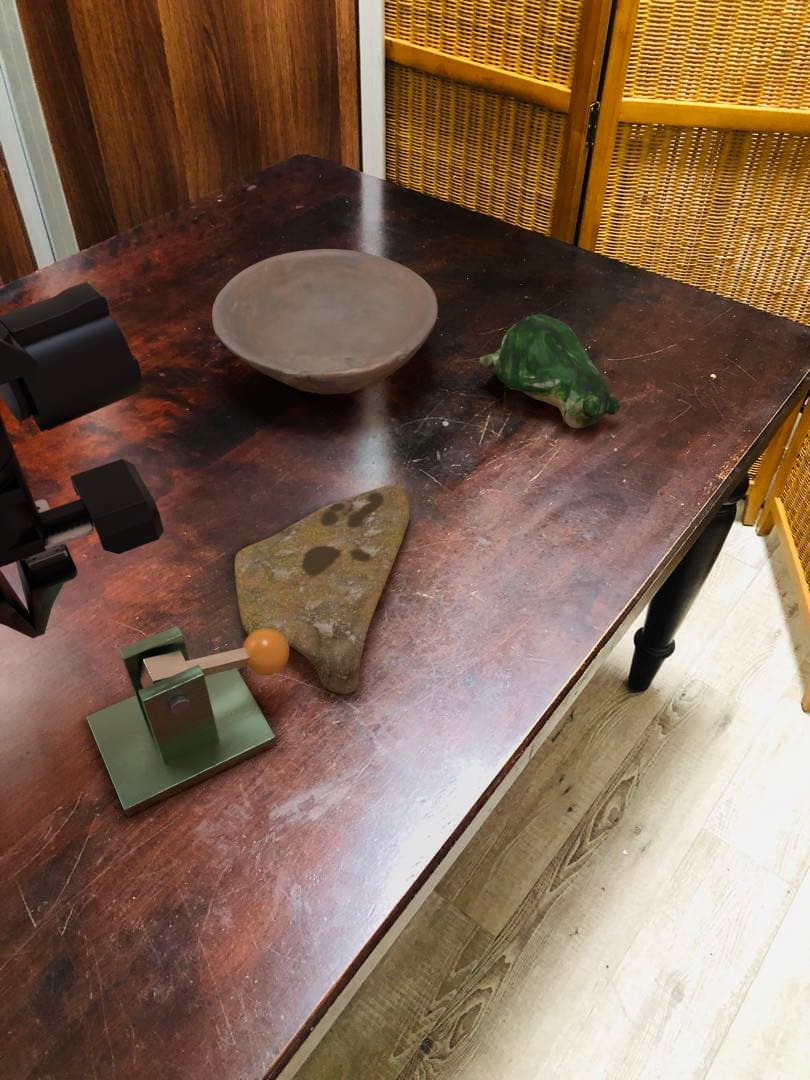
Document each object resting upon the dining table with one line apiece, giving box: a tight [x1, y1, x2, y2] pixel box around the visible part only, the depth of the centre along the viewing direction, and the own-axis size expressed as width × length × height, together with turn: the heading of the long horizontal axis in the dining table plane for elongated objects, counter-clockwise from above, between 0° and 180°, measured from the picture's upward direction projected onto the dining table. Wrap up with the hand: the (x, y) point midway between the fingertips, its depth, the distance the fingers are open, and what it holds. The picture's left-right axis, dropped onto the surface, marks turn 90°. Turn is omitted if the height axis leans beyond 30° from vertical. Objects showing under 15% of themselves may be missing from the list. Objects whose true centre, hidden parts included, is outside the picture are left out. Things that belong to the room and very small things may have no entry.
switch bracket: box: [85, 624, 277, 818], centre depth 65 cm, size 12×9×10 cm
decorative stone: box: [234, 484, 411, 694], centre depth 81 cm, size 25×15×5 cm, turn 165°
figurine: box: [477, 313, 621, 429], centre depth 97 cm, size 14×9×15 cm
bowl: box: [211, 248, 439, 395], centre depth 100 cm, size 25×25×8 cm
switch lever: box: [140, 628, 290, 688], centre depth 66 cm, size 11×4×4 cm, turn 121°
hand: (36, 631), depth 59 cm, fingers closed
